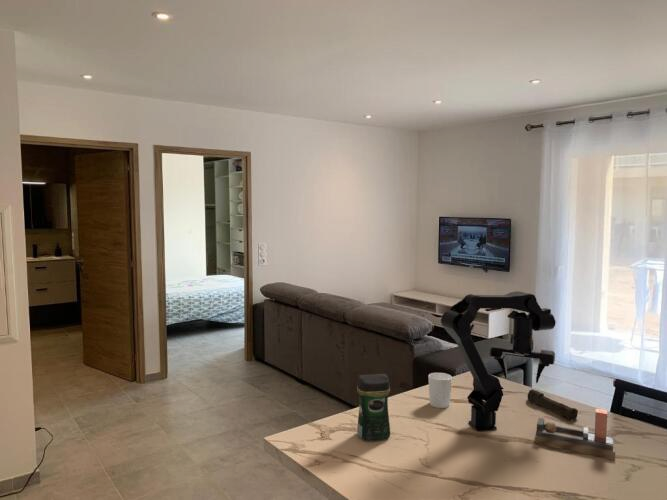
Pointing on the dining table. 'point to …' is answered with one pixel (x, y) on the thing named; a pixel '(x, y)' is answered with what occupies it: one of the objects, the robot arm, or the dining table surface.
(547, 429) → the nut
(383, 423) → the coffee jar
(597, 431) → the lever
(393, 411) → the dining table surface
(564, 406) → the dark brown bar
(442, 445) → the dining table surface
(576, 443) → the ball pusher game
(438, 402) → the white cup
